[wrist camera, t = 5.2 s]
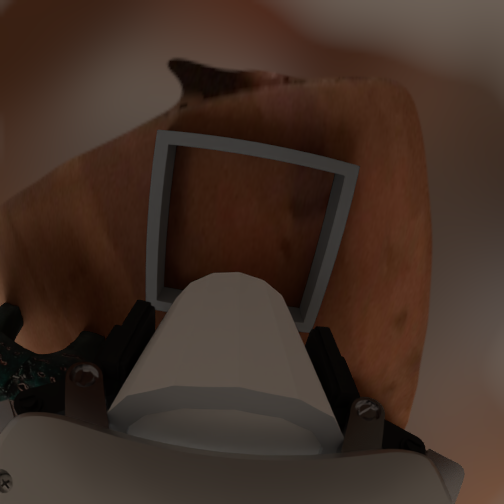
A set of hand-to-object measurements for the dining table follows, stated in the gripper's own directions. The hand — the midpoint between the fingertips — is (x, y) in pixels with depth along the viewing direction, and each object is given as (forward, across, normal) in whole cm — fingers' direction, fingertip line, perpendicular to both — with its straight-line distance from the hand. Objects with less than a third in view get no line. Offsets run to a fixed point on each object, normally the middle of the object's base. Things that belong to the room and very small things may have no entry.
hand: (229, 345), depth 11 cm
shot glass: (+2, 0, 0) cm, 2 cm away
